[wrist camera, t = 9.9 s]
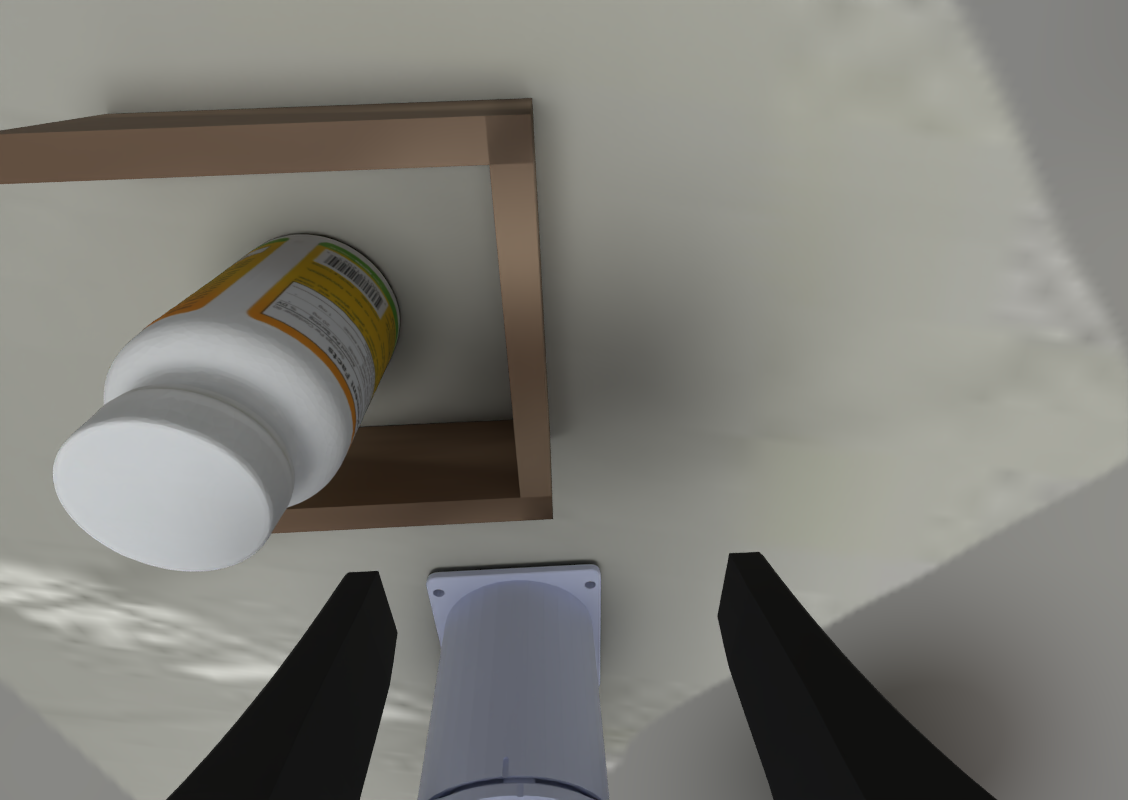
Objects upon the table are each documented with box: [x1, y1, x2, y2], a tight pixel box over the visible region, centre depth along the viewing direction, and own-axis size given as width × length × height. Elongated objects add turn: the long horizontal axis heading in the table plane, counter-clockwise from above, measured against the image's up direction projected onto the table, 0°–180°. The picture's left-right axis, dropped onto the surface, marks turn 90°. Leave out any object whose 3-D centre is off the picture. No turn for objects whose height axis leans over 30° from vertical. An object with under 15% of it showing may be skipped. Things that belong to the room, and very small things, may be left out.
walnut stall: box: [0, 98, 553, 533], centre depth 17 cm, size 12×12×4 cm
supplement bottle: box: [53, 234, 400, 571], centre depth 15 cm, size 5×5×10 cm
